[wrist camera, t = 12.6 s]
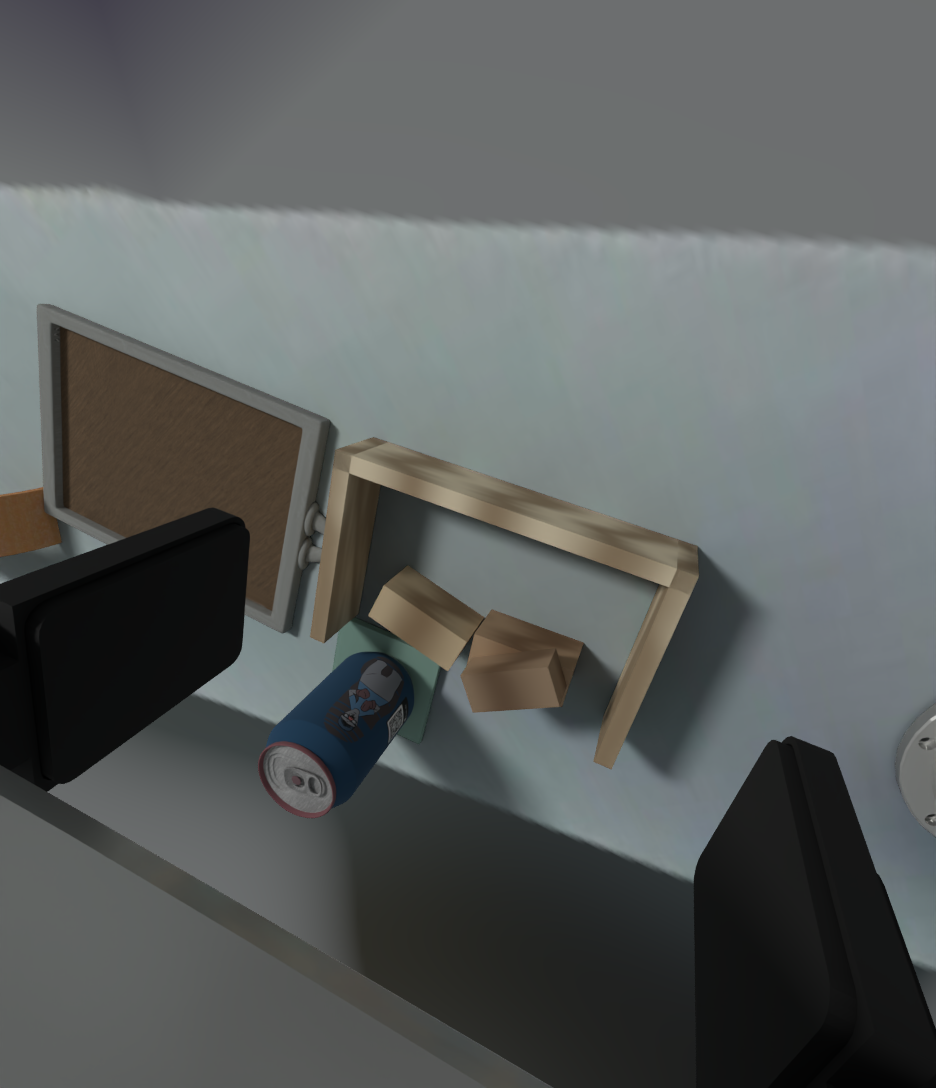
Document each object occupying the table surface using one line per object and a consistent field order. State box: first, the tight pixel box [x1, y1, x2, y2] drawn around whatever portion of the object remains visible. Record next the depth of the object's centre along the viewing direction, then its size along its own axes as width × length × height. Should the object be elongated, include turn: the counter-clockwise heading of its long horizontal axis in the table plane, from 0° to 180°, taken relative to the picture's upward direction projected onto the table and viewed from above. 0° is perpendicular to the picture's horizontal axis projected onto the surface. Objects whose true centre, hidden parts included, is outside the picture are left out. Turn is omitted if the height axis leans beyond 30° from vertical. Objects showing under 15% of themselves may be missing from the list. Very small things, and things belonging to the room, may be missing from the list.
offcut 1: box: [368, 565, 484, 671], centre depth 42 cm, size 7×3×4 cm, turn 61°
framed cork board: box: [37, 304, 330, 633], centre depth 48 cm, size 19×2×30 cm
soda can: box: [258, 652, 414, 818], centre depth 42 cm, size 7×7×12 cm
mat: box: [332, 618, 441, 744], centre depth 47 cm, size 9×9×1 cm
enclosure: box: [310, 437, 699, 769], centre depth 39 cm, size 23×15×5 cm, turn 75°
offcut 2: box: [466, 610, 583, 707], centre depth 40 cm, size 7×3×4 cm, turn 77°
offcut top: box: [461, 648, 567, 713], centre depth 37 cm, size 6×3×2 cm, turn 107°
